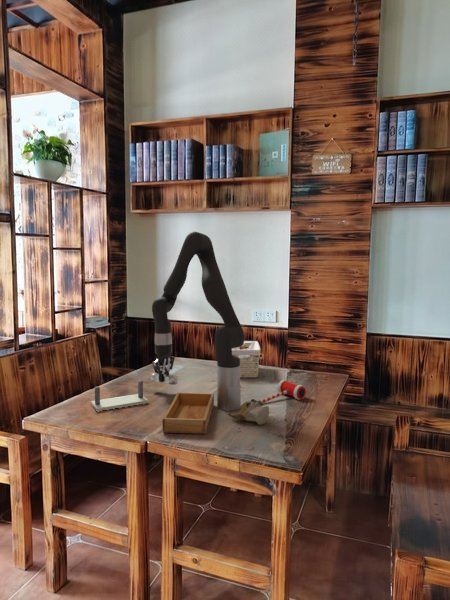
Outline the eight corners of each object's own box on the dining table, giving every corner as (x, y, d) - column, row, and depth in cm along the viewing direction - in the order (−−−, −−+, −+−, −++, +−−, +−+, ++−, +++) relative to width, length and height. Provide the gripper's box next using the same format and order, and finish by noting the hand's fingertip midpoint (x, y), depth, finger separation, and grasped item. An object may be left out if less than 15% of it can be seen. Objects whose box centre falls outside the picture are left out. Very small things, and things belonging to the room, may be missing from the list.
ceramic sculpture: (259, 405, 161) (226, 399, 170) (260, 429, 162) (227, 422, 171) (276, 398, 169) (243, 393, 179) (276, 421, 170) (244, 414, 179)
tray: (177, 405, 189) (177, 391, 188) (213, 406, 188) (214, 392, 187) (162, 434, 158) (162, 418, 158) (205, 436, 157) (205, 420, 157)
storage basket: (228, 366, 250) (228, 340, 249) (258, 366, 250) (258, 340, 248) (227, 378, 227) (228, 349, 225) (260, 379, 226) (261, 349, 225)
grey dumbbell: (179, 382, 201) (179, 376, 201) (174, 385, 198) (174, 378, 198) (154, 378, 208) (154, 372, 208) (148, 380, 205) (148, 374, 205)
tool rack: (140, 396, 198) (139, 377, 197) (148, 403, 189) (147, 383, 188) (91, 404, 188) (90, 384, 187) (96, 412, 179) (96, 391, 178)
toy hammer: (267, 409, 184) (268, 394, 183) (248, 402, 193) (249, 387, 192) (306, 398, 197) (307, 384, 197) (287, 392, 207) (287, 378, 206)
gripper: (166, 339, 209) (167, 376, 211) (146, 344, 197) (147, 383, 199) (179, 340, 205) (180, 378, 207) (160, 346, 193) (160, 386, 195)
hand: (164, 380), depth 203 cm, fingers closed on grey dumbbell, 3 cm apart
